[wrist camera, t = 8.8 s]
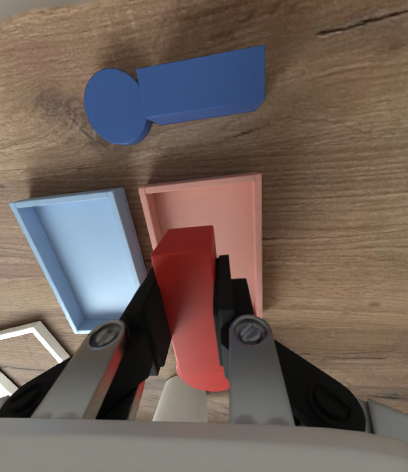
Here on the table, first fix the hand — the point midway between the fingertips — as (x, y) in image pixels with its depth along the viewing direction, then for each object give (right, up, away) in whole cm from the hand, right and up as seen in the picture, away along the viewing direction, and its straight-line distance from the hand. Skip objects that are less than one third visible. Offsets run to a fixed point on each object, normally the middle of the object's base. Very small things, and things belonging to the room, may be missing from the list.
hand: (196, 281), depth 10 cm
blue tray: (-10, 0, +9) cm, 13 cm away
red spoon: (0, -3, +2) cm, 3 cm away
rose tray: (+1, 0, +8) cm, 8 cm away
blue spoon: (-2, +12, +3) cm, 12 cm away
